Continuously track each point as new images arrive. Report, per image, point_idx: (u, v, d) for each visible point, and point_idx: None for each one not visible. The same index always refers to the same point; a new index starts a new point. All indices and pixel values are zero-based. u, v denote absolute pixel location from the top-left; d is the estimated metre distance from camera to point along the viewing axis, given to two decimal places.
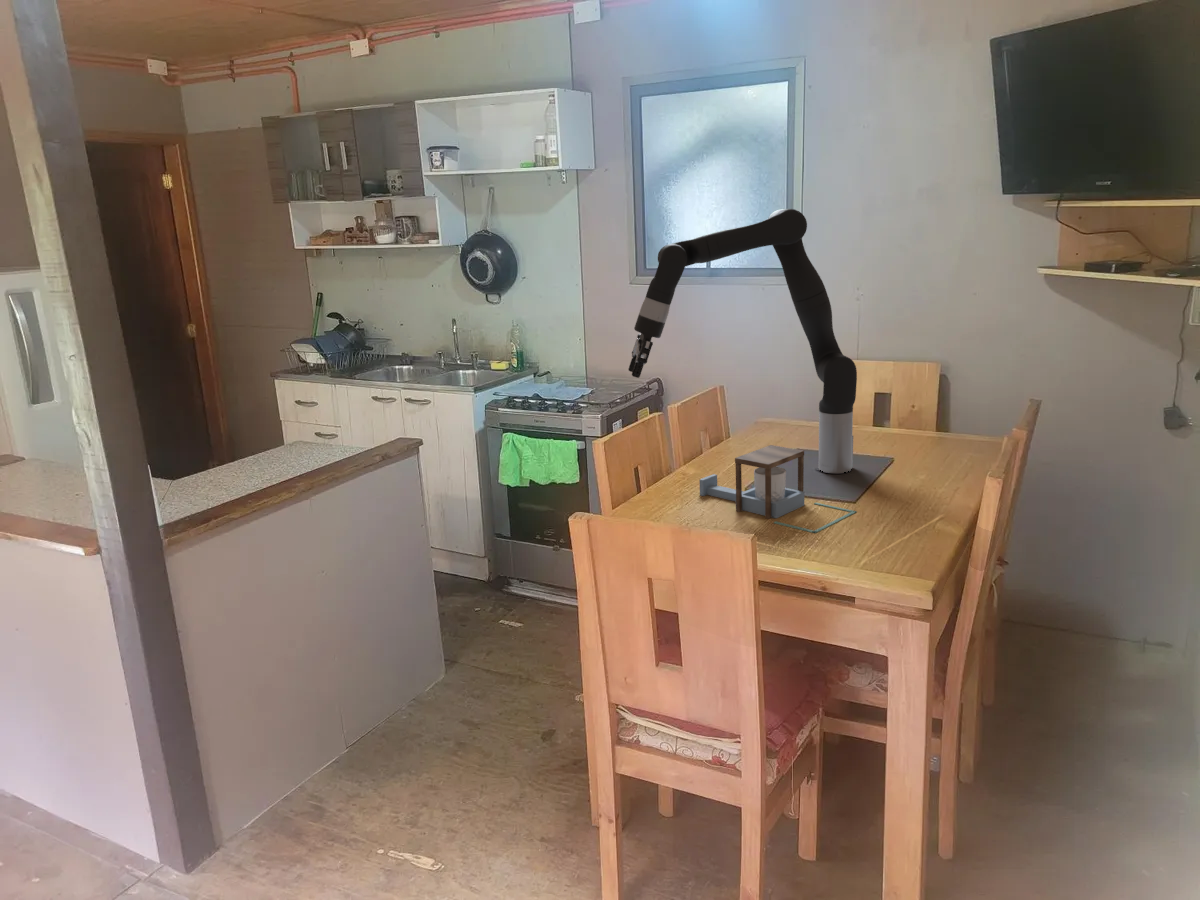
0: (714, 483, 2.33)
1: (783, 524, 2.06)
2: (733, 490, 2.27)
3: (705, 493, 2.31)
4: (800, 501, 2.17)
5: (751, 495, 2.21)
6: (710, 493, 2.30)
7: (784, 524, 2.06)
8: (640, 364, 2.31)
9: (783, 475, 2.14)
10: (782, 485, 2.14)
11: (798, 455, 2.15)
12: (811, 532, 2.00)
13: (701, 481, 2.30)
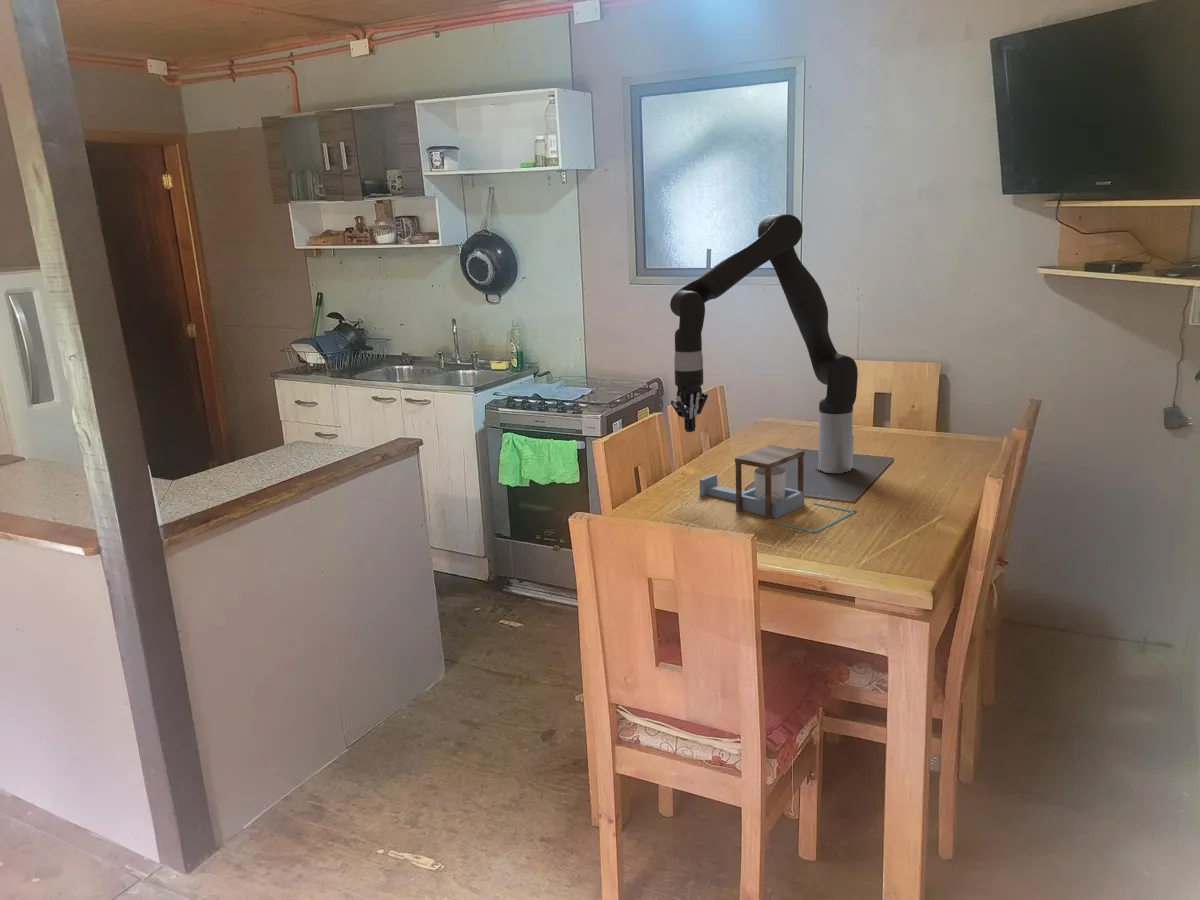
0: (714, 483, 2.33)
1: (783, 524, 2.06)
2: (733, 490, 2.27)
3: (705, 493, 2.31)
4: (800, 501, 2.17)
5: (751, 495, 2.21)
6: (710, 493, 2.30)
7: (784, 524, 2.06)
8: (686, 419, 2.30)
9: (783, 475, 2.14)
10: (782, 485, 2.14)
11: (798, 455, 2.15)
12: (811, 532, 2.00)
13: (701, 481, 2.30)
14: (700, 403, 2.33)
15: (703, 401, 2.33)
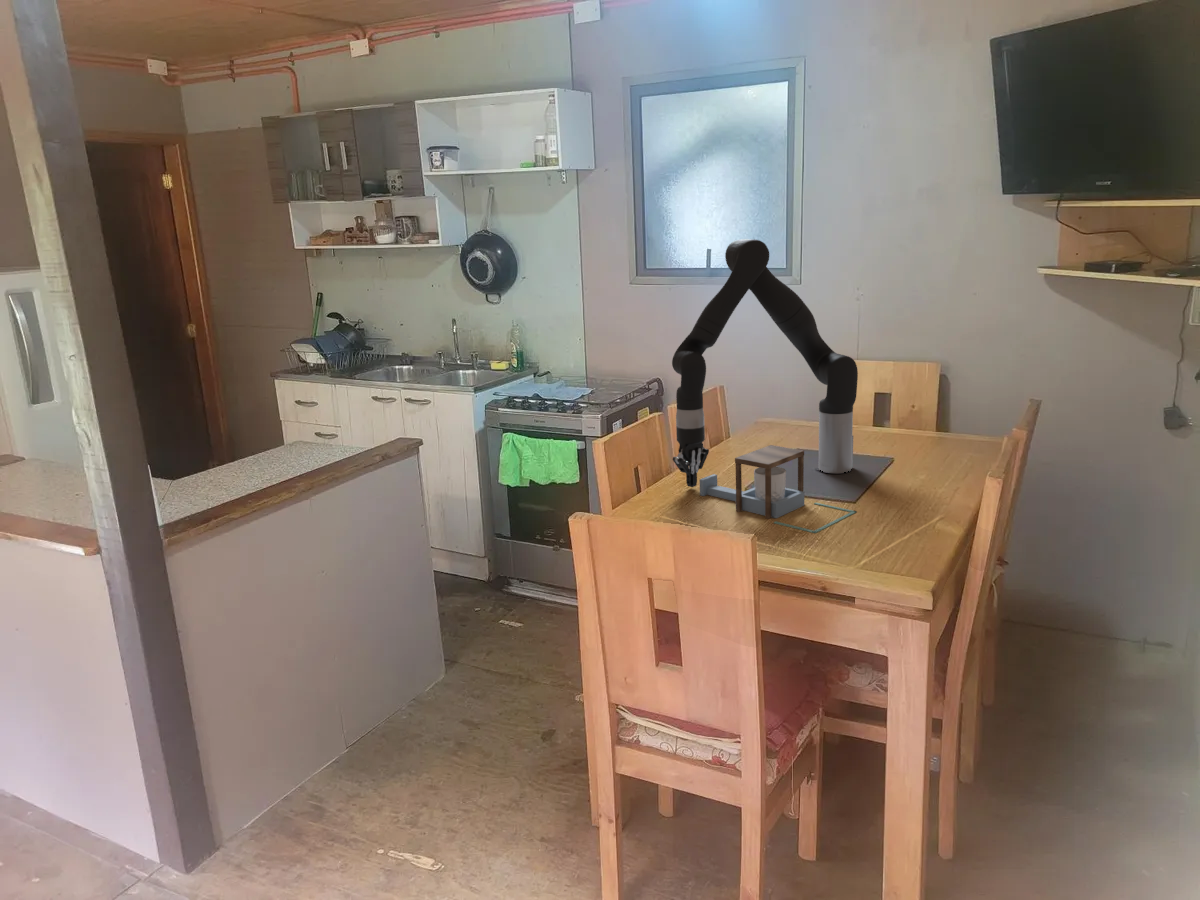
0: (714, 483, 2.33)
1: (783, 524, 2.06)
2: (733, 490, 2.27)
3: (705, 493, 2.31)
4: (800, 501, 2.17)
5: (751, 495, 2.21)
6: (710, 493, 2.30)
7: (784, 524, 2.06)
8: (688, 474, 2.34)
9: (783, 475, 2.14)
10: (782, 485, 2.14)
11: (798, 455, 2.15)
12: (811, 532, 2.00)
13: (701, 481, 2.30)
14: (701, 458, 2.36)
15: (704, 456, 2.37)
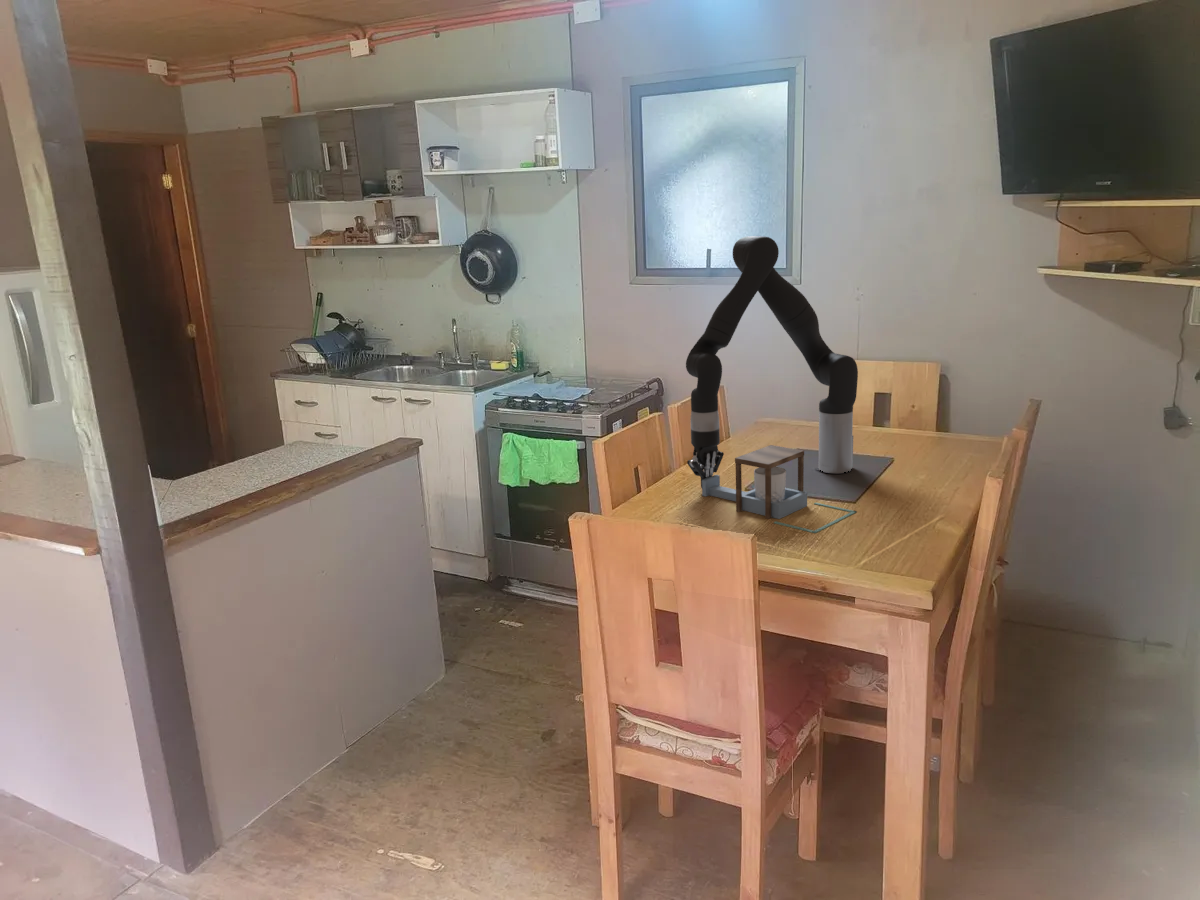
0: (716, 484, 2.32)
1: (783, 524, 2.06)
2: None
3: (707, 494, 2.30)
4: (803, 502, 2.16)
5: (754, 496, 2.20)
6: (712, 494, 2.30)
7: (784, 524, 2.06)
8: (702, 477, 2.31)
9: (783, 475, 2.14)
10: (782, 485, 2.14)
11: (798, 455, 2.15)
12: (811, 532, 2.00)
13: (703, 482, 2.29)
14: (716, 461, 2.33)
15: (719, 459, 2.33)
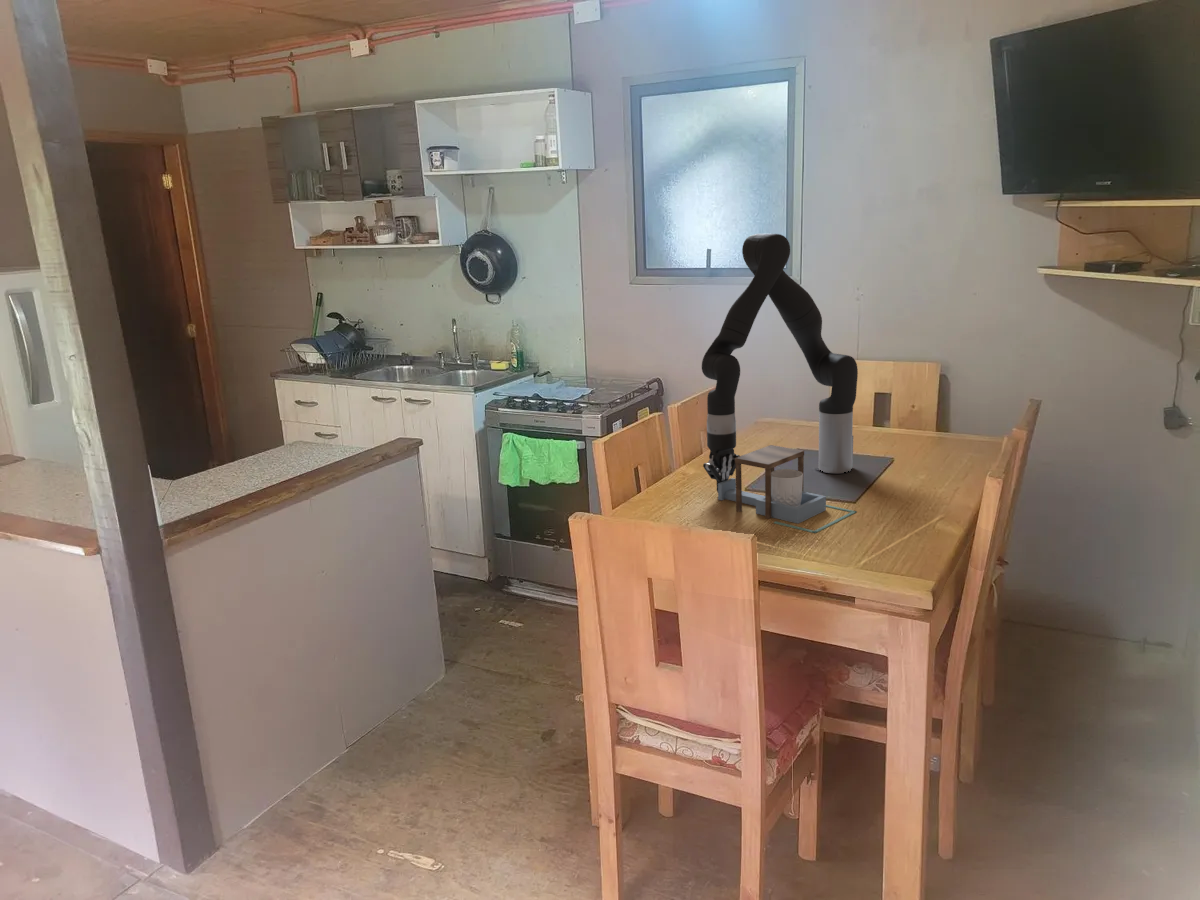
0: (732, 487, 2.28)
1: (783, 524, 2.06)
2: (752, 494, 2.23)
3: (723, 497, 2.26)
4: (822, 506, 2.13)
5: (771, 500, 2.17)
6: (729, 497, 2.26)
7: (784, 524, 2.06)
8: (718, 481, 2.27)
9: (800, 478, 2.11)
10: (799, 488, 2.11)
11: (798, 455, 2.15)
12: (811, 532, 2.00)
13: (719, 485, 2.25)
14: (732, 464, 2.29)
15: None
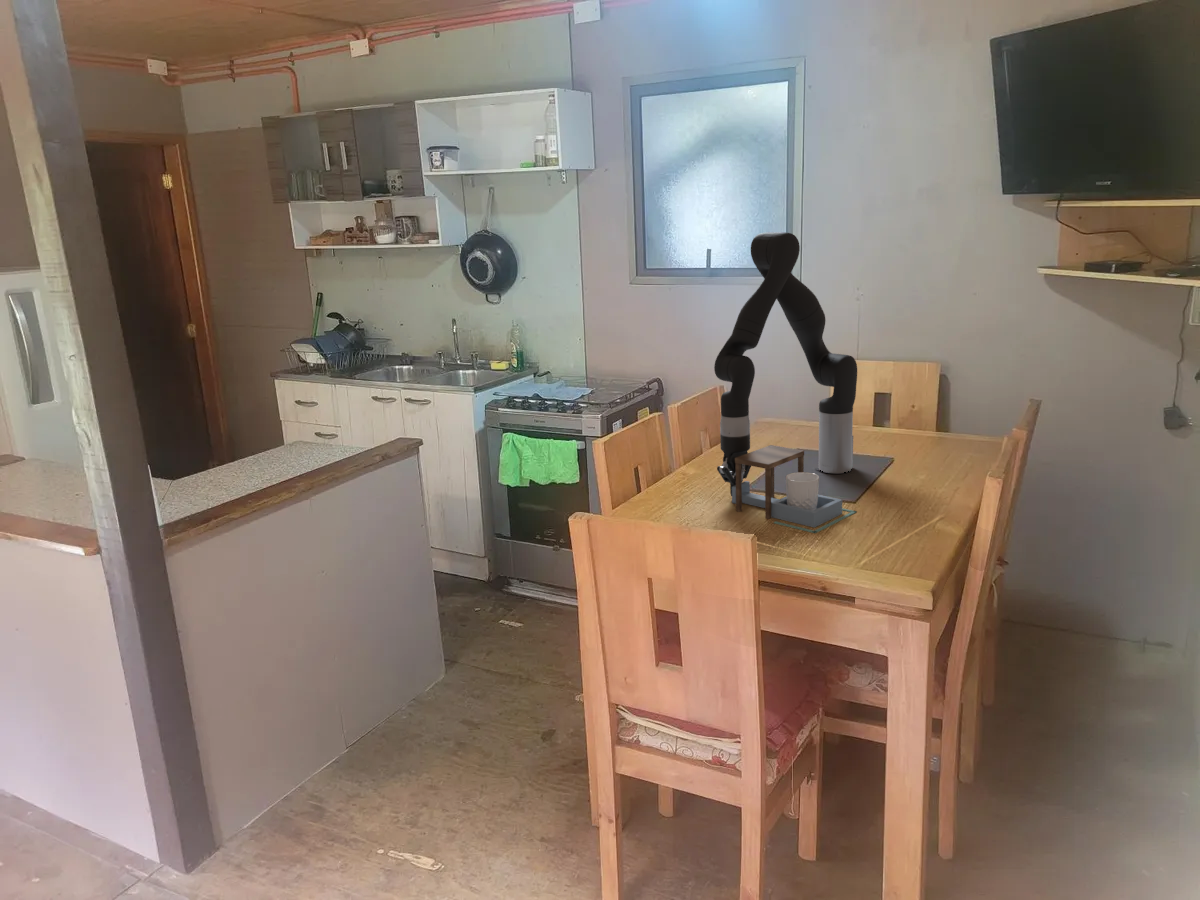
0: (746, 490, 2.25)
1: (783, 524, 2.06)
2: None
3: None
4: (838, 509, 2.10)
5: (786, 503, 2.13)
6: (743, 501, 2.23)
7: (784, 524, 2.06)
8: (732, 484, 2.24)
9: (816, 481, 2.07)
10: (815, 492, 2.08)
11: (798, 455, 2.15)
12: (811, 532, 2.00)
13: (733, 488, 2.22)
14: (746, 467, 2.26)
15: None
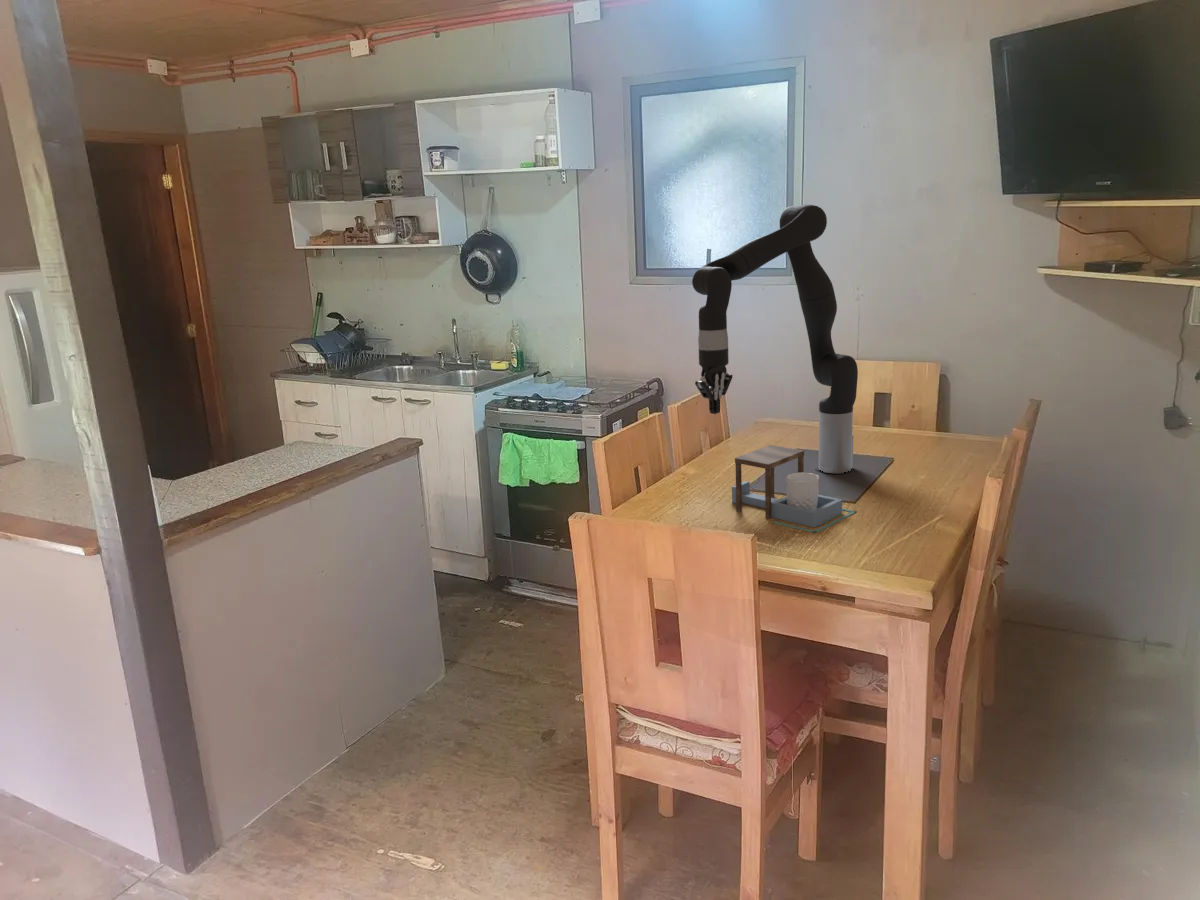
0: (746, 490, 2.25)
1: (783, 524, 2.06)
2: None
3: None
4: (838, 509, 2.10)
5: None
6: (743, 501, 2.23)
7: (784, 524, 2.06)
8: (711, 400, 2.23)
9: (817, 481, 2.07)
10: (815, 492, 2.08)
11: (798, 455, 2.15)
12: (811, 532, 2.00)
13: (733, 488, 2.22)
14: (725, 384, 2.25)
15: (728, 382, 2.25)
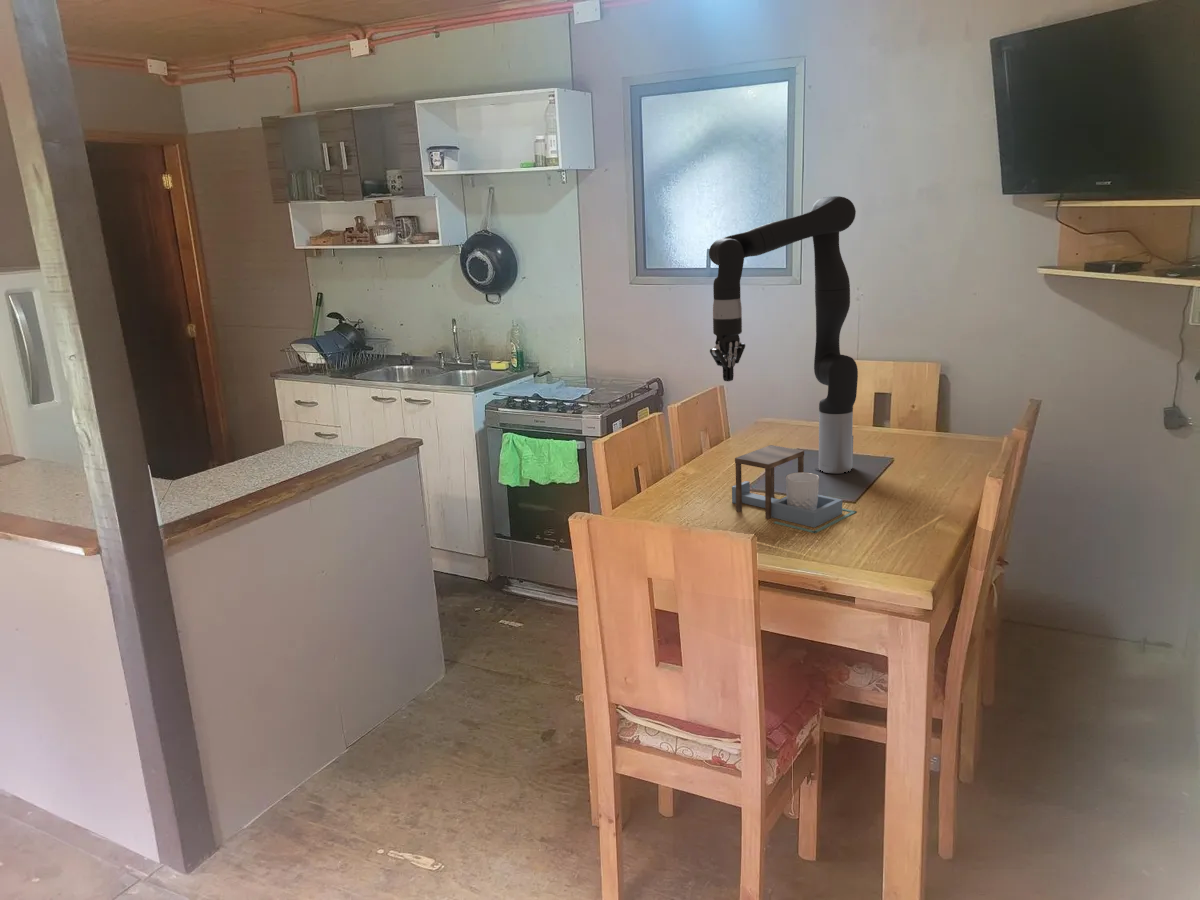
0: (746, 490, 2.25)
1: (783, 524, 2.06)
2: None
3: None
4: (838, 509, 2.10)
5: None
6: (743, 501, 2.23)
7: (784, 524, 2.06)
8: (724, 368, 2.31)
9: (817, 481, 2.07)
10: (815, 492, 2.08)
11: (798, 455, 2.15)
12: (811, 532, 2.00)
13: (733, 488, 2.22)
14: (738, 352, 2.33)
15: (741, 350, 2.34)
